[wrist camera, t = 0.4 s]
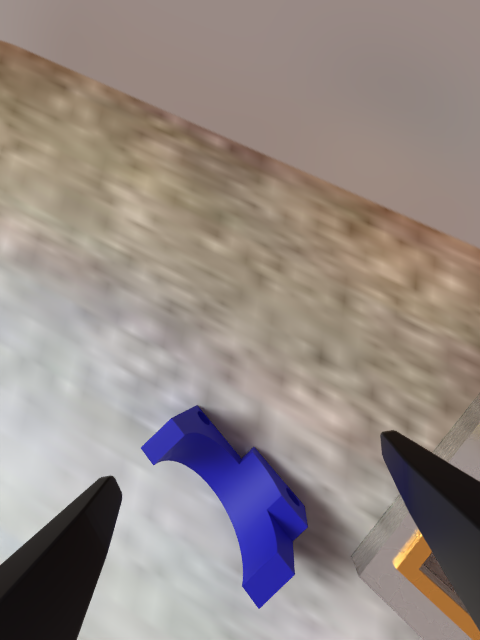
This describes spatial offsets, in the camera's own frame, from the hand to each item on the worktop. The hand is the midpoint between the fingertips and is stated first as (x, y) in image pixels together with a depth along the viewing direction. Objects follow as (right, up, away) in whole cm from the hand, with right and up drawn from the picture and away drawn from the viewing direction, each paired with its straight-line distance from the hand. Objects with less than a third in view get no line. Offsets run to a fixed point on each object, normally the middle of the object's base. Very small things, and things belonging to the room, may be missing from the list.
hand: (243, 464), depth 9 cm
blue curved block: (0, -8, +15) cm, 17 cm away
